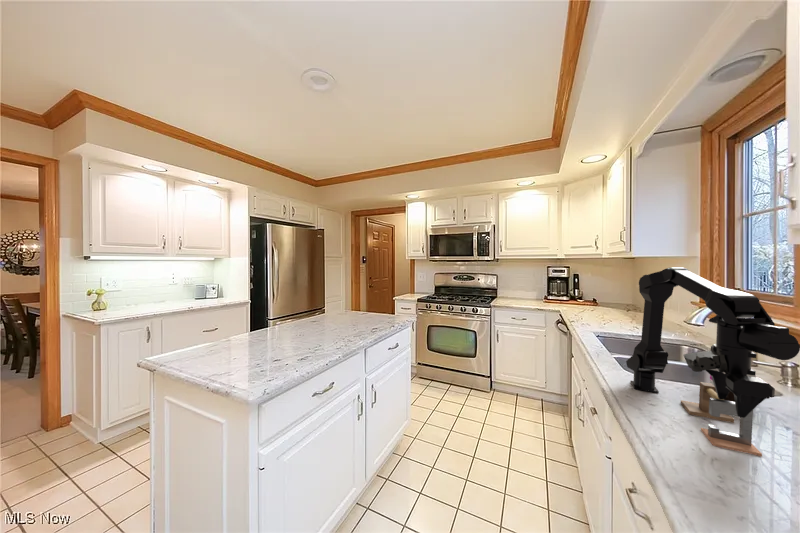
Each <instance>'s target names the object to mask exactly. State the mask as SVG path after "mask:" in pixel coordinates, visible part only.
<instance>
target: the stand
mask: <svg viewBox="0 0 800 533" xmlns="http://www.w3.org/2000/svg"><path fill="white" fill-rule="evenodd" d="M698 396H699V397H698V402H693V401H687V400H682V399H680V404H681V406H682V407H683V408H684V409H685V411H686V412H687V413H688V414H689V415H691V416H697V417H701V418H706V419H711V420H712V419H713V420H716V421H723V422H727V423H732V424H734V423H735V418H734V417H733V416H731V415H726V414H720V417H715V416H711V415H710V414H709V398H715V399H719V398H718V396H717V392H716V389H715V386H714V385H713V384H711V383H710V382H704V381H703V382H702V381H699V395H698ZM721 400H723V399H721Z"/></svg>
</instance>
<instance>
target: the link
mask: <svg viewBox="0 0 800 533" xmlns="http://www.w3.org/2000/svg"><path fill="white" fill-rule="evenodd" d="M709 414H710V415H711V416H715V417H720V414H726V415H730V416H731V417H737V418H739V428H738V429H739V430H738V431H739V433H733V432H729V431H725V430H724V431H723V430H720V428H719V427H718V426H717V425H713V424H708V425H707V429H708V435H709V436H710V437H712V438H717V439H722V440H726V441H731V442H736V443H740V444H745V445H750V446H751V443H752V439H753V423H754V422H753V420H754V418H753V417H754V416H753V415H754V409H753V410H752V411H751V412H750V413H749V414H748V415H747V416H746V417H745V418H743V417H739V416H738V415H737V411H736V405H735V402H733V401H727V400H721V399H715V398H709ZM752 444H753V443H752Z"/></svg>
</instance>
